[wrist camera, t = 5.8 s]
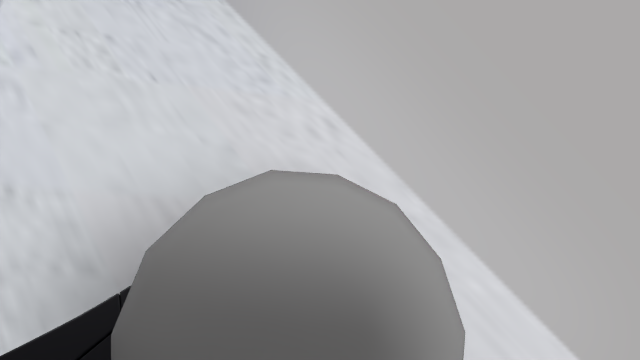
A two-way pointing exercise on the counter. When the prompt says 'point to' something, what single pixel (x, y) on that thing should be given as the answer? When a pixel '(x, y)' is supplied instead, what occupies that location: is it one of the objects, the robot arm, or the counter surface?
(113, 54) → the counter surface
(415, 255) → the salt shaker
